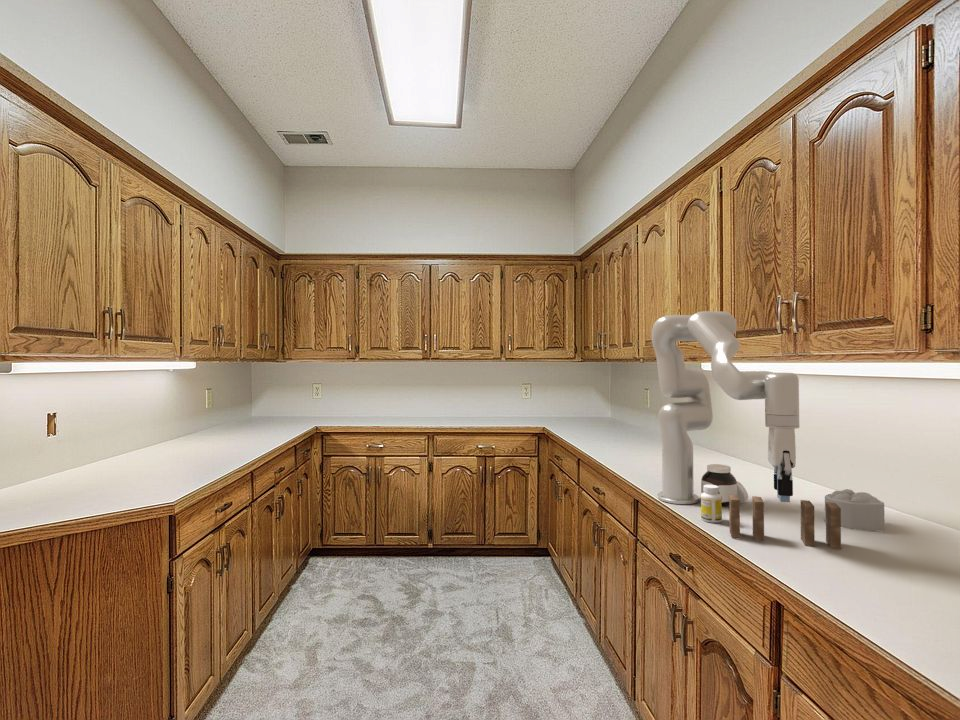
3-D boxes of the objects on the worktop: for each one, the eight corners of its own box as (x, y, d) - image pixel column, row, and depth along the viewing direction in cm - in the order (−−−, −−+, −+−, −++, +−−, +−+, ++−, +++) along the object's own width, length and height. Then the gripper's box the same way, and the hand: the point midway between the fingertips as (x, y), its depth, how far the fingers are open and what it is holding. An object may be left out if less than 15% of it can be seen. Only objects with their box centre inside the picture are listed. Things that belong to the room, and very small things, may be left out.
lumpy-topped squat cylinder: (888, 532, 137) (888, 499, 137) (832, 528, 140) (832, 496, 140) (870, 519, 147) (870, 489, 147) (818, 516, 150) (818, 486, 150)
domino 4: (831, 548, 126) (831, 507, 126) (825, 541, 131) (825, 501, 131) (841, 549, 125) (840, 508, 125) (835, 542, 130) (835, 502, 130)
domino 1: (731, 538, 134) (731, 499, 134) (729, 531, 139) (729, 494, 139) (740, 538, 133) (739, 500, 133) (737, 532, 138) (737, 495, 138)
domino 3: (805, 545, 128) (804, 505, 128) (800, 538, 133) (800, 499, 133) (814, 546, 127) (814, 506, 127) (809, 539, 132) (809, 500, 132)
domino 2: (755, 540, 132) (755, 501, 132) (752, 533, 137) (752, 496, 137) (764, 541, 131) (763, 502, 131) (761, 534, 136) (760, 496, 136)
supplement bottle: (720, 517, 150) (719, 484, 150) (723, 524, 145) (723, 489, 145) (699, 516, 151) (699, 483, 151) (702, 522, 146) (702, 488, 146)
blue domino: (780, 501, 130) (780, 462, 130) (777, 496, 134) (776, 458, 134) (789, 502, 129) (789, 462, 129) (786, 497, 134) (785, 458, 134)
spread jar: (697, 501, 166) (697, 465, 166) (715, 495, 173) (715, 460, 173) (734, 510, 157) (734, 472, 157) (752, 503, 164) (752, 466, 163)
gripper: (760, 417, 141) (761, 483, 141) (770, 425, 125) (772, 500, 125) (792, 417, 138) (793, 485, 138) (806, 426, 122) (808, 502, 122)
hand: (783, 491), depth 132 cm, fingers closed on blue domino, 4 cm apart
